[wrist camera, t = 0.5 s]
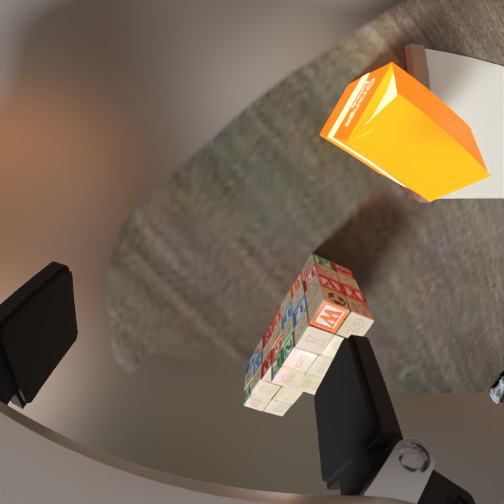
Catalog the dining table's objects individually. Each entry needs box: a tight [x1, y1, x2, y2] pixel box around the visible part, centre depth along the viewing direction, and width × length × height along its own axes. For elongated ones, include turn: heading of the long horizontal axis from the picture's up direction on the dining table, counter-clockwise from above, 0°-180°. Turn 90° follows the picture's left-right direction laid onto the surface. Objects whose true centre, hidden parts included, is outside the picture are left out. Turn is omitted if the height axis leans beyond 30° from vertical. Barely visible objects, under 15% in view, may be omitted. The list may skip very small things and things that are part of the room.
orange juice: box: [320, 62, 491, 202], centre depth 24 cm, size 8×9×20 cm
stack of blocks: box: [244, 253, 374, 416], centre depth 39 cm, size 21×6×12 cm, turn 157°
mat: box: [404, 43, 504, 202], centre depth 30 cm, size 22×20×2 cm
